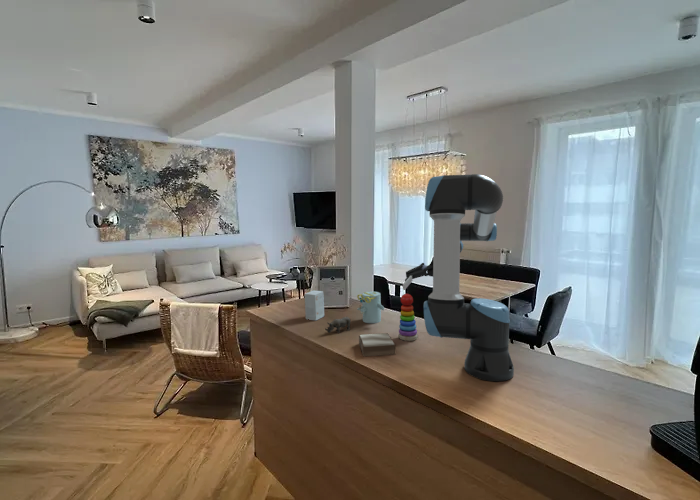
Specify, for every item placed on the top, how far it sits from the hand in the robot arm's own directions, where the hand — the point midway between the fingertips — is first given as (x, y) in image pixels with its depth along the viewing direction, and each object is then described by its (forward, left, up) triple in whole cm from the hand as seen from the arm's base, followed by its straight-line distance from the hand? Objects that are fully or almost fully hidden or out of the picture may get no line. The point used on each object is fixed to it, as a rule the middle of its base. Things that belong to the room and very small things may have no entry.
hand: (418, 292), depth 143 cm
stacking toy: (+3, +3, -20) cm, 21 cm away
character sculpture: (+28, +15, -20) cm, 38 cm away
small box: (+38, +41, -20) cm, 60 cm away
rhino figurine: (+16, +32, -20) cm, 41 cm away
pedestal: (-6, +18, -20) cm, 28 cm away
